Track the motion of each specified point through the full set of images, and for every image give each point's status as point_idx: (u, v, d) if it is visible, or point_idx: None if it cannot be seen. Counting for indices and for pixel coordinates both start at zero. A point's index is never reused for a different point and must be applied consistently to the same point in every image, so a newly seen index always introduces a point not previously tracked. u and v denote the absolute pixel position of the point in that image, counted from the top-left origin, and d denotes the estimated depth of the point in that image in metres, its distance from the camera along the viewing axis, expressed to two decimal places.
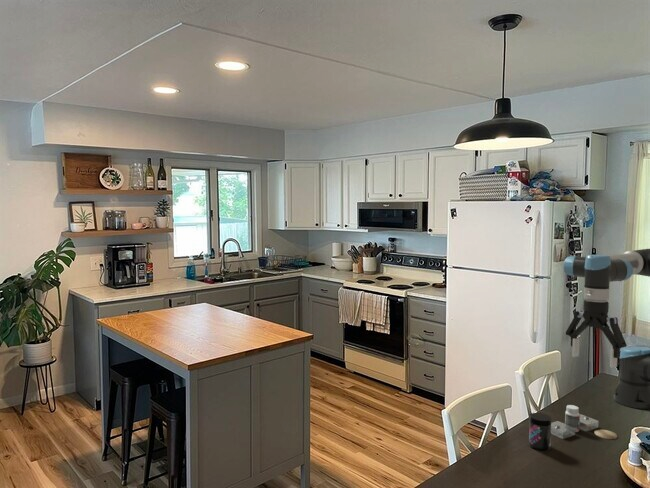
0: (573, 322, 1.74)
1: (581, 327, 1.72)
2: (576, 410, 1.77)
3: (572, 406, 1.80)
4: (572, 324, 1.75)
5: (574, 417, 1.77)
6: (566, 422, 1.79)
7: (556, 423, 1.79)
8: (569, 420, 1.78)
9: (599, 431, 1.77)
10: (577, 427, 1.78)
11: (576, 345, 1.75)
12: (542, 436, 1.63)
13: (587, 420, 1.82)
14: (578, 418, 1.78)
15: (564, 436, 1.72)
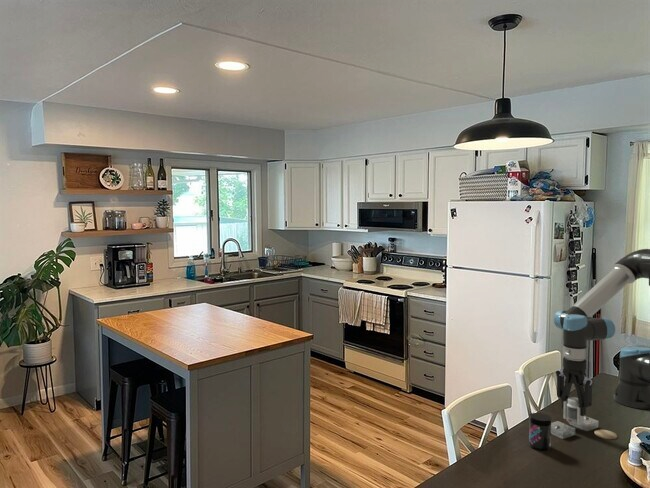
0: (558, 382, 1.83)
1: (566, 386, 1.80)
2: (578, 402, 1.78)
3: (573, 398, 1.80)
4: (558, 384, 1.83)
5: (575, 409, 1.77)
6: (568, 414, 1.79)
7: (556, 423, 1.79)
8: (571, 412, 1.78)
9: (599, 431, 1.77)
10: None
11: None
12: (542, 436, 1.63)
13: (587, 420, 1.82)
14: None
15: (564, 436, 1.72)
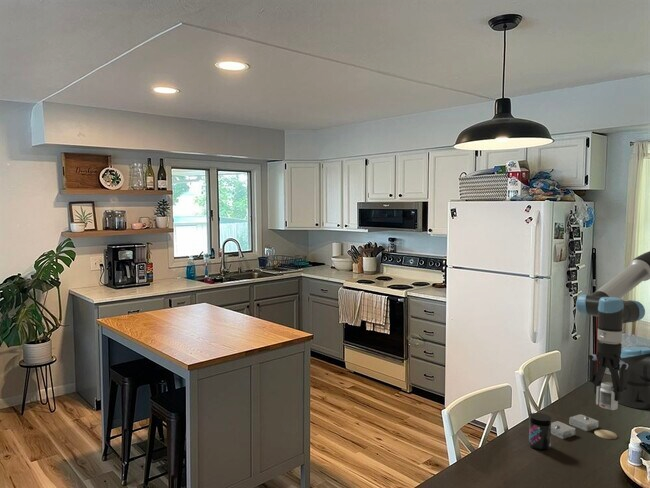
0: (591, 367, 1.78)
1: (599, 371, 1.75)
2: (612, 387, 1.73)
3: (607, 383, 1.75)
4: (591, 369, 1.78)
5: (609, 393, 1.72)
6: (601, 399, 1.74)
7: (556, 423, 1.79)
8: (604, 397, 1.73)
9: (599, 431, 1.77)
10: None
11: None
12: (542, 436, 1.63)
13: (587, 420, 1.82)
14: None
15: (564, 436, 1.72)
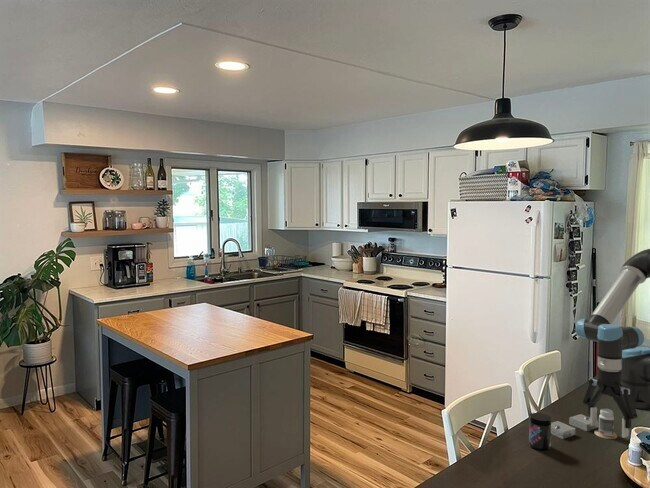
0: (589, 390, 1.79)
1: (597, 395, 1.77)
2: (611, 414, 1.73)
3: (606, 409, 1.76)
4: (588, 392, 1.80)
5: (608, 420, 1.73)
6: (600, 426, 1.75)
7: (556, 423, 1.79)
8: (604, 424, 1.74)
9: None
10: (612, 431, 1.73)
11: (594, 414, 1.79)
12: (542, 436, 1.63)
13: (587, 420, 1.82)
14: (613, 422, 1.73)
15: (564, 436, 1.72)
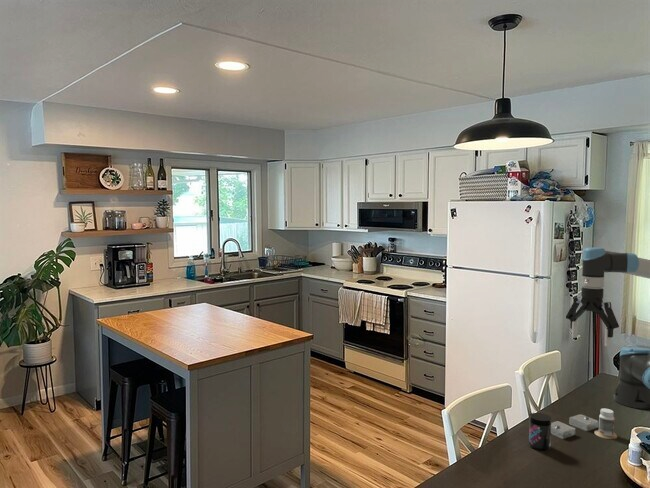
0: (572, 307, 1.98)
1: (579, 311, 1.95)
2: (611, 414, 1.73)
3: (606, 409, 1.76)
4: (571, 309, 1.98)
5: (609, 420, 1.73)
6: (600, 426, 1.75)
7: (556, 423, 1.79)
8: (604, 424, 1.74)
9: None
10: (612, 431, 1.73)
11: (575, 327, 1.98)
12: (542, 436, 1.63)
13: (587, 420, 1.82)
14: (613, 422, 1.73)
15: (564, 436, 1.72)
